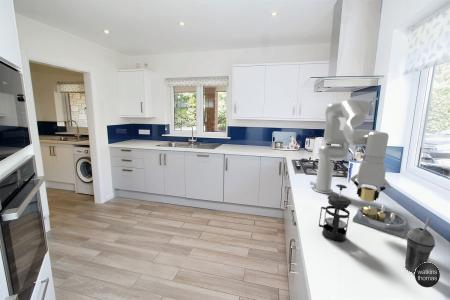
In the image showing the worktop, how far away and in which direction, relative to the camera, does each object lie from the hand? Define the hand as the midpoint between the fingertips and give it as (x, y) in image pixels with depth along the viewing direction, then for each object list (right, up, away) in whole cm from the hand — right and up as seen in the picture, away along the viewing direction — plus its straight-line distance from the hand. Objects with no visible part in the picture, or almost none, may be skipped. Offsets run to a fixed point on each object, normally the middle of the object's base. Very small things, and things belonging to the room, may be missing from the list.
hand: (366, 197), depth 100 cm
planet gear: (0, -1, 0) cm, 1 cm away
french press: (-19, -16, -6) cm, 25 cm away
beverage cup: (0, -20, -25) cm, 32 cm away
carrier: (+12, -14, +9) cm, 21 cm away
